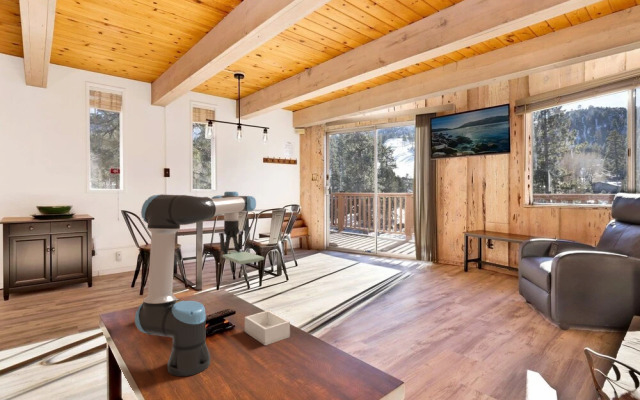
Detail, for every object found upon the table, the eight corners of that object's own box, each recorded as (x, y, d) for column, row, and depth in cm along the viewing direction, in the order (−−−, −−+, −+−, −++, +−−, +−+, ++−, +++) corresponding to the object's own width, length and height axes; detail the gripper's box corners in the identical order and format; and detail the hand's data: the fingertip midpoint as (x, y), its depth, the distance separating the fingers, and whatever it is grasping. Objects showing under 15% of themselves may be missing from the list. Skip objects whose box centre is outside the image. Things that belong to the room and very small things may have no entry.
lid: (264, 261, 168) (264, 256, 168) (239, 265, 159) (239, 260, 159) (240, 253, 186) (240, 249, 186) (217, 257, 177) (217, 252, 177)
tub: (289, 336, 152) (289, 321, 151) (265, 345, 143) (265, 329, 143) (268, 324, 165) (268, 310, 165) (244, 331, 157) (244, 316, 156)
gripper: (242, 218, 188) (242, 259, 189) (213, 220, 177) (213, 264, 177) (249, 219, 182) (249, 262, 183) (219, 221, 171) (219, 266, 172)
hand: (231, 263), depth 180 cm, fingers closed on lid, 4 cm apart
